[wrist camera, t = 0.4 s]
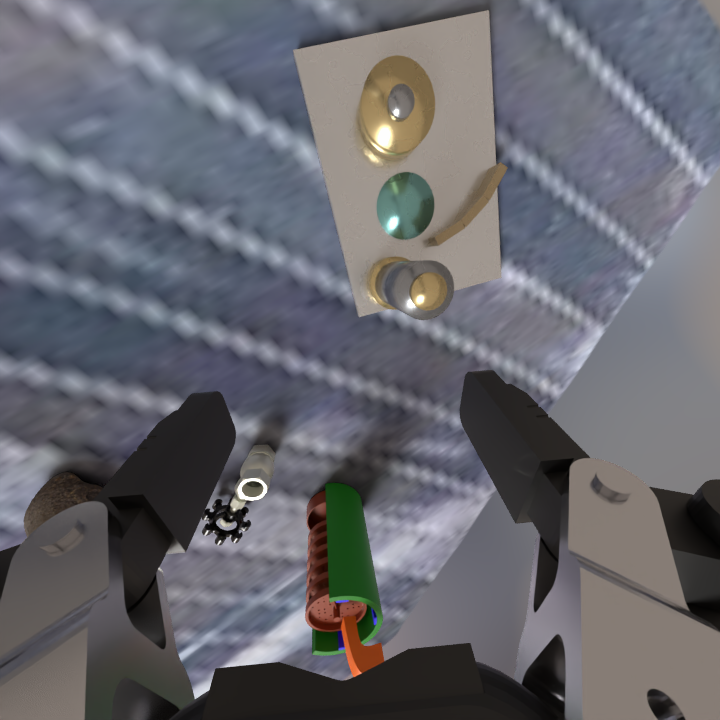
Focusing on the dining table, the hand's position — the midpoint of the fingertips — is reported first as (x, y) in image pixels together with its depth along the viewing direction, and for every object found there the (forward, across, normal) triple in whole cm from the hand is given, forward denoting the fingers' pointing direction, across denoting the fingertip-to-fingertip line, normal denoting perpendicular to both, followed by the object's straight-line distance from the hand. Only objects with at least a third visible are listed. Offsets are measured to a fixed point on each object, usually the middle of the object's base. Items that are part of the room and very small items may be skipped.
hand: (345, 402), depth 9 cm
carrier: (+29, -8, -7) cm, 31 cm away
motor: (+20, +5, +37) cm, 42 cm away
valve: (+20, +16, +28) cm, 38 cm away
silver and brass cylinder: (+25, -6, +3) cm, 26 cm away
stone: (+18, +37, +27) cm, 49 cm away
